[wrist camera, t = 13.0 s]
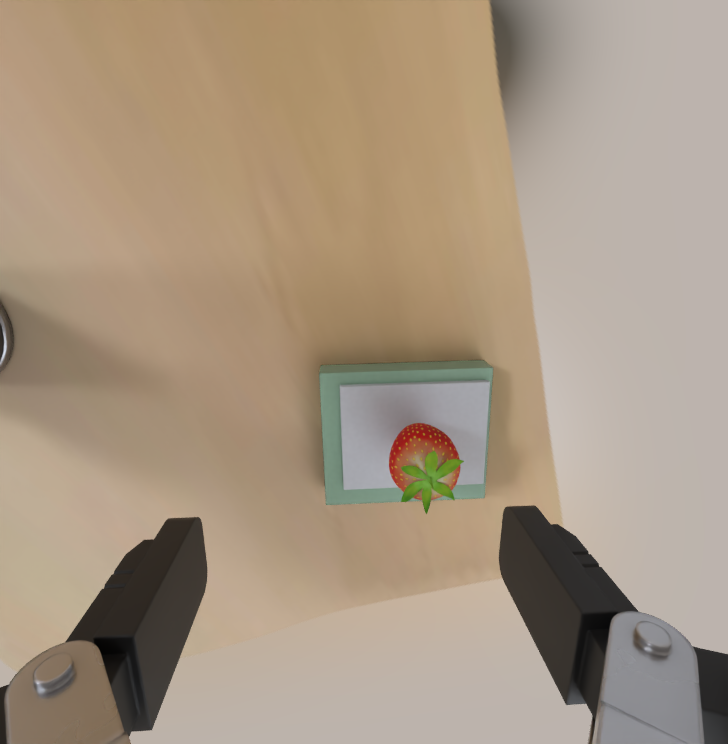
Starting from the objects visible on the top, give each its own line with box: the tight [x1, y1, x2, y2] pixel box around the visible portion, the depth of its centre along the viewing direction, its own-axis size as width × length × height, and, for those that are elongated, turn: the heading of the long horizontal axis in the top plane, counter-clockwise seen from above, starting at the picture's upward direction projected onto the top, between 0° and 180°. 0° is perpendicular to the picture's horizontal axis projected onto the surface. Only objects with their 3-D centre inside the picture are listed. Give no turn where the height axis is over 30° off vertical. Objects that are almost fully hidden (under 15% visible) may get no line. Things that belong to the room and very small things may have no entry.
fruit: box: [389, 423, 464, 514], centre depth 31 cm, size 5×5×8 cm
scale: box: [319, 360, 493, 505], centre depth 37 cm, size 14×12×3 cm
